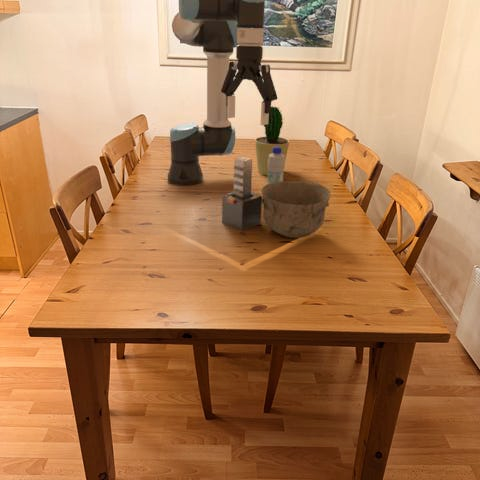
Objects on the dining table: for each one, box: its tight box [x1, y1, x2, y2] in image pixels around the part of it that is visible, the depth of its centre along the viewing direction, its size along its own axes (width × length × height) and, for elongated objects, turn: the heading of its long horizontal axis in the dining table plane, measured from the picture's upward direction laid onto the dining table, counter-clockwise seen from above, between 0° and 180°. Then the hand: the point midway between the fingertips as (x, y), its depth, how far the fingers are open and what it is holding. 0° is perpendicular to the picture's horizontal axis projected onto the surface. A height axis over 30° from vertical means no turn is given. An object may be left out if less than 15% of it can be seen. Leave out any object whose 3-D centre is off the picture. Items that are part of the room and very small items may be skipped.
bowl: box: [261, 180, 332, 239], centre depth 143 cm, size 22×22×15 cm
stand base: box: [221, 191, 263, 232], centre depth 149 cm, size 14×14×11 cm
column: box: [232, 156, 253, 200], centre depth 146 cm, size 4×5×22 cm
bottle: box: [266, 147, 286, 185], centre depth 173 cm, size 7×7×20 cm
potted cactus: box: [254, 105, 291, 177], centre depth 200 cm, size 15×15×30 cm
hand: (247, 121), depth 137 cm, fingers open, 13 cm apart
